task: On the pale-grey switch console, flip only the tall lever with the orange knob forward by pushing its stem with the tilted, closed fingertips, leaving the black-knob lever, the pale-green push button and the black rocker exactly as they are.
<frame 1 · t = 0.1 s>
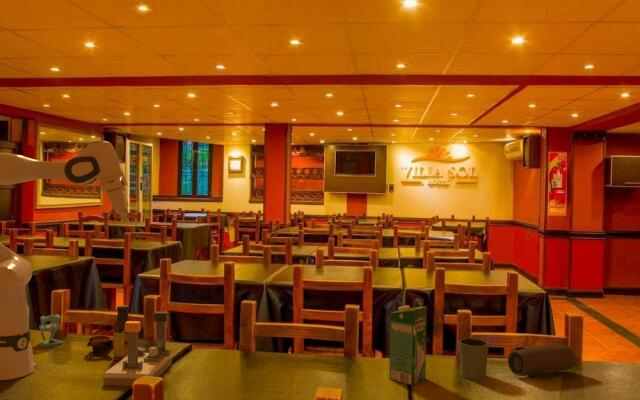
hand: (126, 221, 194), 52 cm above the table, tool tilted 20°, fingers open, 8 cm apart
console: (139, 374, 185), on the table
sauce bottle: (122, 359, 201), on the table
chair: (49, 343, 220), on the table
lever black: (161, 333, 193), point 12 cm above the table, hinge at 0.0°
push button: (153, 352, 188), point 7 cm above the table, slide at 0.0 cm
rocker: (138, 350, 194), point 5 cm above the table, hinge at 10.0°
milk carton: (407, 379, 184), on the table
pottery mug: (101, 355, 206), on the table
lever orange: (132, 345, 179), point 12 cm above the table, hinge at 0.0°
grey cup: (472, 376, 188), on the table
bluetooth speaker: (541, 375, 190), on the table
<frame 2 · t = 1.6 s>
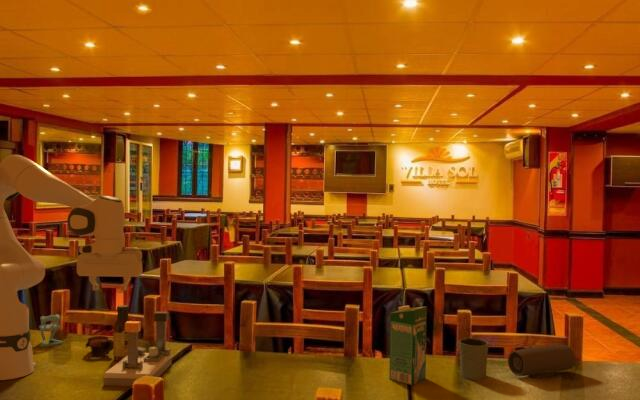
hand: (109, 290, 172), 31 cm above the table, tool pointing down, fingers open, 8 cm apart
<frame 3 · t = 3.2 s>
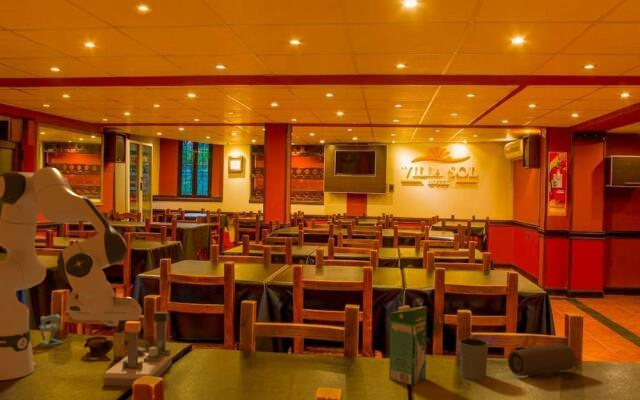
hand: (113, 324, 164), 23 cm above the table, tool tilted 45°, fingers closed
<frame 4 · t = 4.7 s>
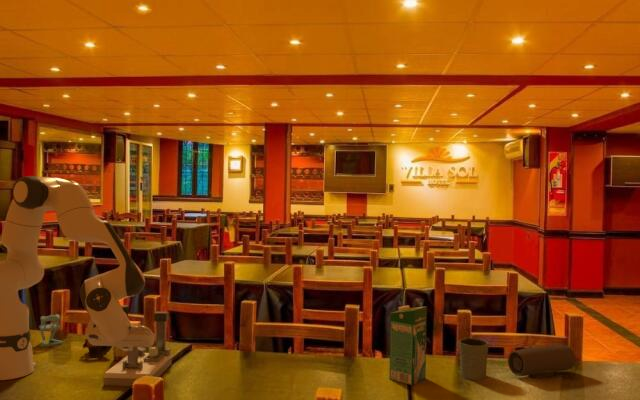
hand: (128, 348, 175), 12 cm above the table, tool tilted 45°, fingers closed
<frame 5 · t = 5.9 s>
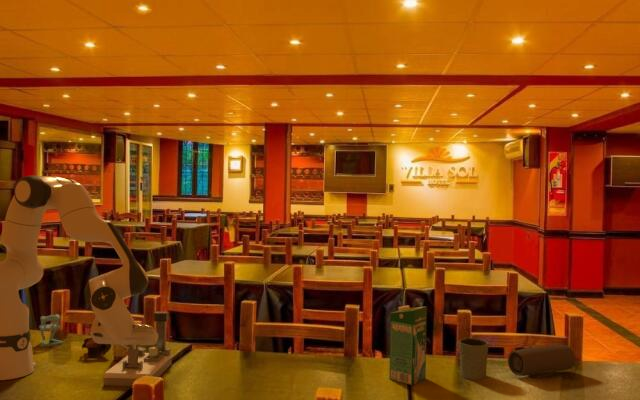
hand: (131, 347, 178), 11 cm above the table, tool tilted 45°, fingers closed, pressing on lever orange
lever orange: (133, 344, 180), point 12 cm above the table, hinge at 5.3°, touching gripper
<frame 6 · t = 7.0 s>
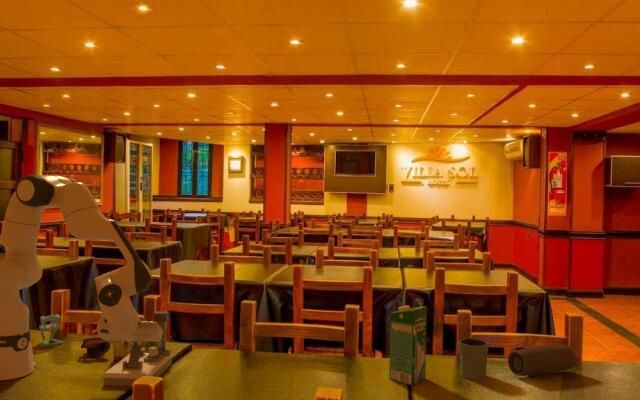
hand: (136, 343, 183), 11 cm above the table, tool tilted 45°, fingers closed, pressing on lever orange
lever orange: (137, 345, 183), point 10 cm above the table, hinge at 36.1°, touching gripper
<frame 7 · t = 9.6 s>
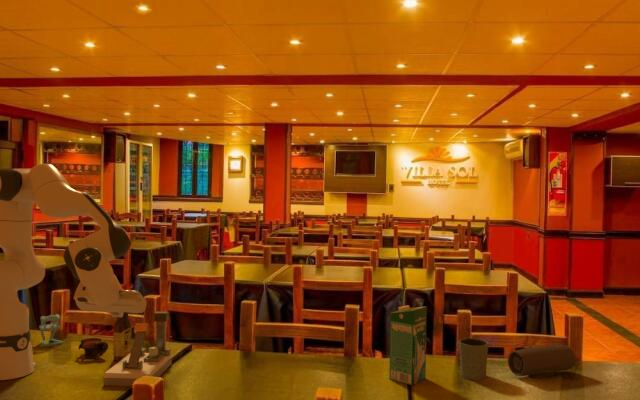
hand: (118, 315, 169), 24 cm above the table, tool tilted 45°, fingers closed
lever orange: (137, 345, 183), point 10 cm above the table, hinge at 38.1°
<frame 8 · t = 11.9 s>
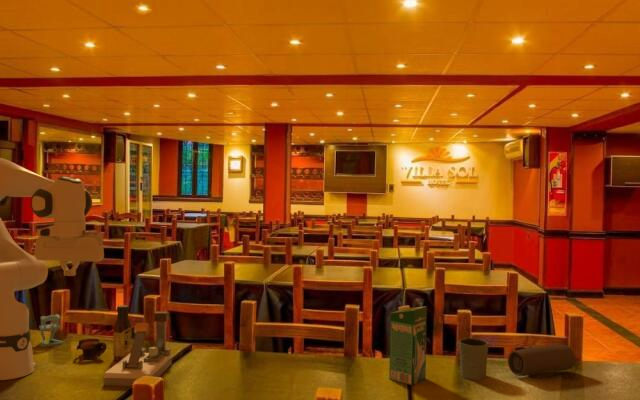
hand: (69, 275, 165), 37 cm above the table, tool pointing down, fingers closed
at the end: lever orange at +38° (first picture: +0°); lever black at +0° (first picture: +0°); push button slide at 0.0 cm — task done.
